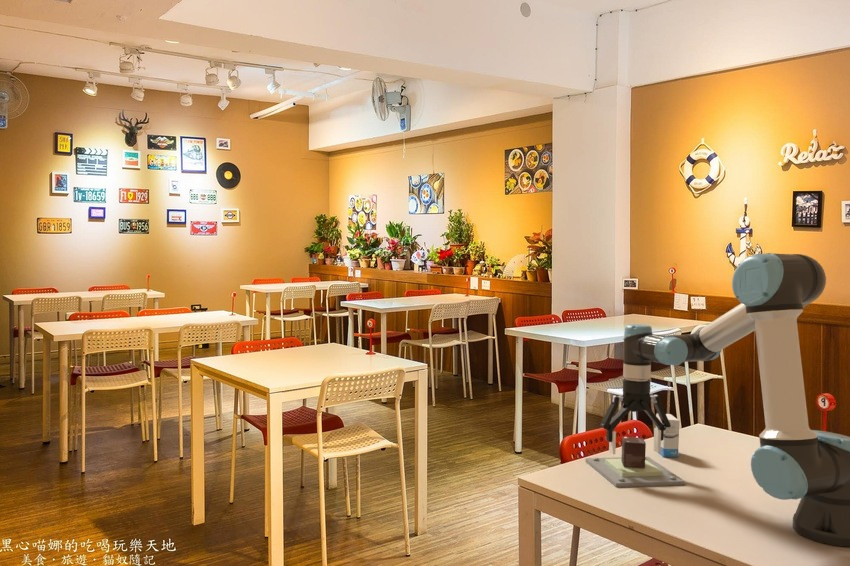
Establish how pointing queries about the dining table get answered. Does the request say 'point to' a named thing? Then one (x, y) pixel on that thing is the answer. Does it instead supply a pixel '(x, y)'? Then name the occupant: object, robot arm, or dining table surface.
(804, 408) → the robot arm
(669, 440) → the ink box
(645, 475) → the board
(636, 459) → the box
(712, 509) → the dining table surface
